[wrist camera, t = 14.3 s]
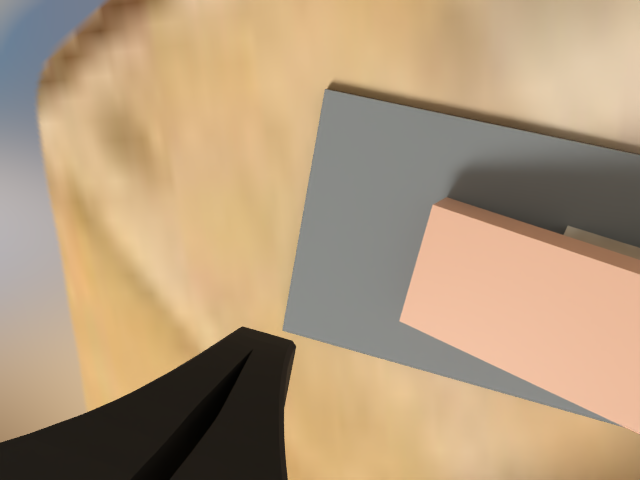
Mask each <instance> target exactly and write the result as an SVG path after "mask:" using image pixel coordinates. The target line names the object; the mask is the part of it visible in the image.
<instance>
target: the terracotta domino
mask: <svg viewBox="0 0 640 480" xmlns="http://www.w3.org/2000/svg"><path fill="white" fill-rule="evenodd" d="M399 321H400V322H402V323H404V324H407V325H409V326H411V327H413V328H415V329H417V330H419V331H421V332H424V333H426V334H428V335H430V336H432V337H434V338H436V339H438V340H441V341H443V342H445V343H447V344H449V345H451V346H453V347H455V348H458V349H460V350H462V351H464V352H466V353H468V354H470V355H472V356H475V357H477V358H479V359H481V360H483V361H485V362H487V363H489V364H492V365H494V366H496V367H498V368H500V369H502V370H504V371H506V372H509V373H511V374H513V375H515V376H517V377H519V378H521V379H523V380H526V381H528V382H530V383H532V384H534V385H536V386H538V387H540V388H542V389H545V390H547V391H549V392H551V393H553V394H555V395H557V396H559V397H562V398H564V399H566V400H568V401H570V402H572V403H574V404H576V405H579V406H581V407H583V408H585V409H587V410H589V411H591V412H593V413H596V414H598V415H600V416H602V417H604V418H606V419H608V420H610V421H613V422H615V423H617V424H619V425H621V426H623V427H625V428H627V429H630V430H632V431H634V432H636V433H638V434H640V260H638V259H635V258H632V257H629V256H626V255H623V254H620V253H617V252H614V251H611V250H608V249H605V248H602V247H598V246H595V245H592V244H589V243H586V242H583V241H580V240H577V239H574V238H571V237H568V236H565V235H562V234H558V233H555V232H552V231H549V230H546V229H543V228H540V227H537V226H534V225H531V224H528V223H525V222H522V221H518V220H515V219H512V218H509V217H506V216H503V215H500V214H497V213H494V212H491V211H488V210H485V209H482V208H478V207H475V206H472V205H469V204H466V203H463V202H460V201H457V200H454V199H451V198H448V197H446V198H444V199H442V200H440V201H439V202H437V203H435V204H433V205H432V209H431V212H430V216H429V219H428V223H427V226H426V230H425V233H424V237H423V240H422V244H421V247H420V251H419V254H418V257H417V261H416V264H415V268H414V271H413V275H412V278H411V282H410V285H409V289H408V292H407V296H406V299H405V303H404V306H403V310H402V313H401V317H400V320H399Z"/></svg>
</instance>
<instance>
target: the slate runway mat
mask: <svg viewBox="0 0 640 480" xmlns="http://www.w3.org/2000/svg"><path fill="white" fill-rule="evenodd" d="M446 197H448V198H451V199H454V200H457V201H460V202H463V203H466V204H469V205H472V206H475V207H478V208H482V209H485V210H488V211H491V212H494V213H497V214H500V215H503V216H506V217H509V218H512V219H515V220H518V221H522V222H525V223H528V224H531V225H534V226H537V227H540V228H543V229H546V230H549V231H552V232H555V233H558V234H562V235H564V233H565V230H566V228H567V226H571V227H574V228H578V229H581V230H584V231H587V232H590V233H594V234H597V235H600V236H603V237H607V238H610V239H613V240H616V241H619V242H623V243H626V244H629V245H632V246H635V247H639V248H640V155H639V154H635V153H630V152H625V151H620V150H616V149H611V148H606V147H601V146H596V145H592V144H587V143H582V142H577V141H573V140H568V139H563V138H558V137H554V136H549V135H544V134H539V133H535V132H530V131H525V130H520V129H515V128H511V127H506V126H501V125H496V124H492V123H487V122H482V121H477V120H473V119H468V118H463V117H458V116H454V115H449V114H444V113H439V112H434V111H430V110H425V109H420V108H415V107H411V106H406V105H401V104H396V103H392V102H387V101H382V100H377V99H373V98H368V97H363V96H358V95H354V94H349V93H344V92H339V91H334V90H330V89H325V93H324V98H323V104H322V110H321V115H320V121H319V126H318V132H317V138H316V143H315V149H314V155H313V160H312V166H311V172H310V177H309V183H308V189H307V194H306V200H305V206H304V211H303V217H302V223H301V228H300V234H299V240H298V245H297V251H296V257H295V262H294V268H293V274H292V279H291V285H290V291H289V296H288V302H287V308H286V313H285V319H284V325H283V330H282V331H286V332H289V333H293V334H296V335H300V336H303V337H307V338H310V339H314V340H317V341H321V342H324V343H328V344H332V345H335V346H339V347H342V348H346V349H349V350H353V351H356V352H360V353H363V354H367V355H370V356H374V357H377V358H381V359H385V360H388V361H392V362H395V363H399V364H402V365H406V366H409V367H413V368H416V369H420V370H423V371H427V372H431V373H434V374H438V375H441V376H445V377H448V378H452V379H455V380H459V381H462V382H466V383H469V384H473V385H476V386H480V387H484V388H487V389H491V390H494V391H498V392H501V393H505V394H508V395H512V396H515V397H519V398H522V399H526V400H529V401H533V402H537V403H540V404H544V405H547V406H551V407H554V408H558V409H561V410H565V411H568V412H572V413H575V414H579V415H582V416H586V417H590V418H593V419H597V420H600V421H604V422H607V423H611V424H614V425H618V426H621V425H619V424H617V423H615V422H613V421H610V420H608V419H606V418H604V417H602V416H600V415H598V414H596V413H593V412H591V411H589V410H587V409H585V408H583V407H581V406H579V405H576V404H574V403H572V402H570V401H568V400H566V399H564V398H562V397H559V396H557V395H555V394H553V393H551V392H549V391H547V390H545V389H542V388H540V387H538V386H536V385H534V384H532V383H530V382H528V381H526V380H523V379H521V378H519V377H517V376H515V375H513V374H511V373H509V372H506V371H504V370H502V369H500V368H498V367H496V366H494V365H492V364H489V363H487V362H485V361H483V360H481V359H479V358H477V357H475V356H472V355H470V354H468V353H466V352H464V351H462V350H460V349H458V348H455V347H453V346H451V345H449V344H447V343H445V342H443V341H441V340H438V339H436V338H434V337H432V336H430V335H428V334H426V333H424V332H421V331H419V330H417V329H415V328H413V327H411V326H409V325H407V324H404V323H402V322H400V321H399V320H400V317H401V313H402V310H403V306H404V303H405V299H406V296H407V292H408V289H409V285H410V282H411V278H412V275H413V271H414V268H415V264H416V261H417V257H418V254H419V251H420V247H421V244H422V240H423V237H424V233H425V230H426V226H427V223H428V219H429V216H430V212H431V209H432V205H433V204H435V203H437V202H439V201H440V200H442V199H444V198H446ZM621 427H623V426H621Z"/></svg>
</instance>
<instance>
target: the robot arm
mask: <svg viewBox="0 0 640 480" xmlns="http://www.w3.org/2000/svg"><path fill="white" fill-rule="evenodd" d="M295 349H296V346H295V344H294V342H293V341H291V340H288V339H284V338H281V337H277V336H274V335H270V334H267V333H263V332H260V331H257V330H253V329H250V328H246V327H241V328H239V329H237V330H236V331H234V332H233V333H231V334H229V335H228V336H226V337H225V338H223V339H222V340H220V341H219V342H217V343H216V344H214V345H213V346H211V347H210V348H208V349H207V350H205V351H203V352H202V353H200V354H199V355H197V356H195V357H194V358H192V359H190V360H189V361H187V362H186V363H184V364H182V365H181V366H179V367H177V368H176V369H174V370H172V371H171V372H169V373H167V374H165V375H163V376H161V377H160V378H158V379H156V380H154V381H152V382H150V383H149V384H147V385H145V386H143V387H141V388H139V389H137V390H135V391H133V392H131V393H129V394H127V395H125V396H123V397H121V398H119V399H117V400H115V401H113V402H110V403H108V404H106V405H103V406H101V407H99V408H96V409H94V410H92V411H89V412H87V413H84V414H83V415H80V416H77V417H74V418H71V419H69V420H66V421H63V422H60V423H57V424H55V425H52V426H49V427H47V428H44V429H41V430H38V431H35V432H33V433H30V434H27V435H24V436H20V437H17V438H14V439H11V440H7V441H5V442H1V443H0V480H288V478H287V468H286V458H285V442H284V406H285V401H286V396H287V391H288V386H289V380H290V375H291V370H292V365H293V360H294V355H295Z"/></svg>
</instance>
